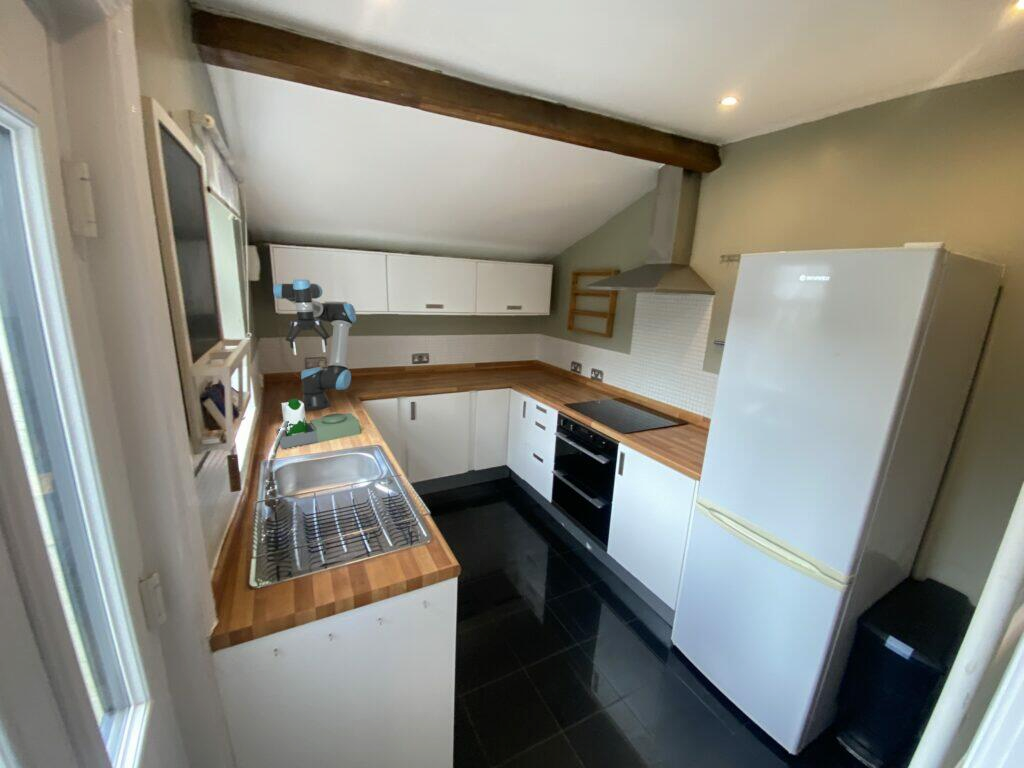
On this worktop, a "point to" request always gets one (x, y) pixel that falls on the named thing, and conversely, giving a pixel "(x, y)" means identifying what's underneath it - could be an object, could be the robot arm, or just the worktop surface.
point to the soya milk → (294, 417)
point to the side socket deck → (323, 430)
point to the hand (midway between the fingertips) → (309, 353)
